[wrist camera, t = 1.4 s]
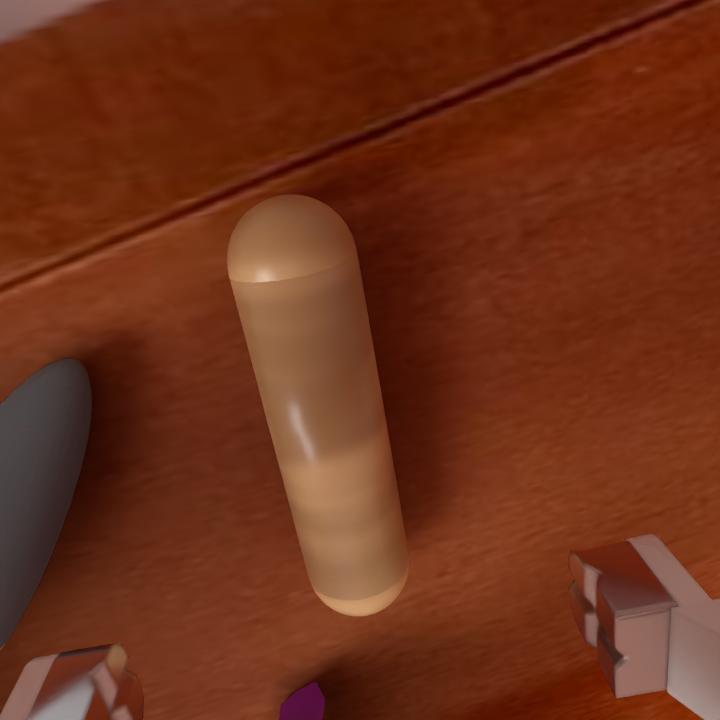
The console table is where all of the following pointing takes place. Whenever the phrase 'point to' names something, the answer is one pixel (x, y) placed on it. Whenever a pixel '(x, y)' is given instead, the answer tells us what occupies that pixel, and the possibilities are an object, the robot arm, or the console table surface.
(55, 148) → the console table surface
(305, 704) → the flower
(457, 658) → the console table surface
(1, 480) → the paintbrush
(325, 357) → the stick
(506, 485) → the console table surface
